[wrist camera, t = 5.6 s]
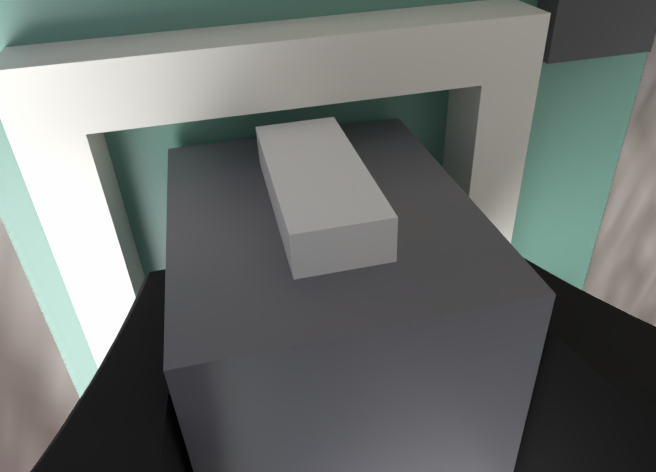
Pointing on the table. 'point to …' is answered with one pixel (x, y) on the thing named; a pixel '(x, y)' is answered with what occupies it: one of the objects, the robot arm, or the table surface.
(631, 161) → the table surface
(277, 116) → the board
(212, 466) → the plug
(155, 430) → the robot arm
